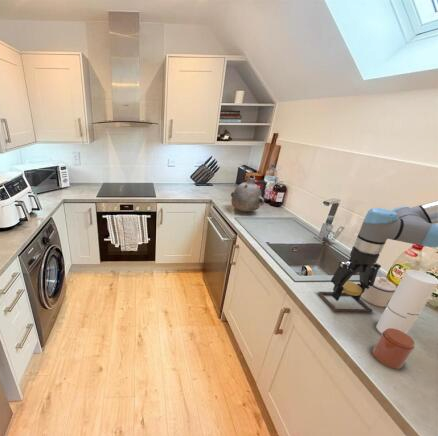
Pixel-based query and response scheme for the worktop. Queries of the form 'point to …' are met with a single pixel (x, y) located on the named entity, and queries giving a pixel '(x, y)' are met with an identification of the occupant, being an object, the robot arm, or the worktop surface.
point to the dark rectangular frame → (366, 310)
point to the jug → (247, 196)
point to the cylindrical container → (407, 301)
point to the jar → (393, 348)
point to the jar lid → (352, 288)
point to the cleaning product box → (260, 186)
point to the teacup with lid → (379, 292)
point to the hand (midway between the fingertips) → (344, 298)
